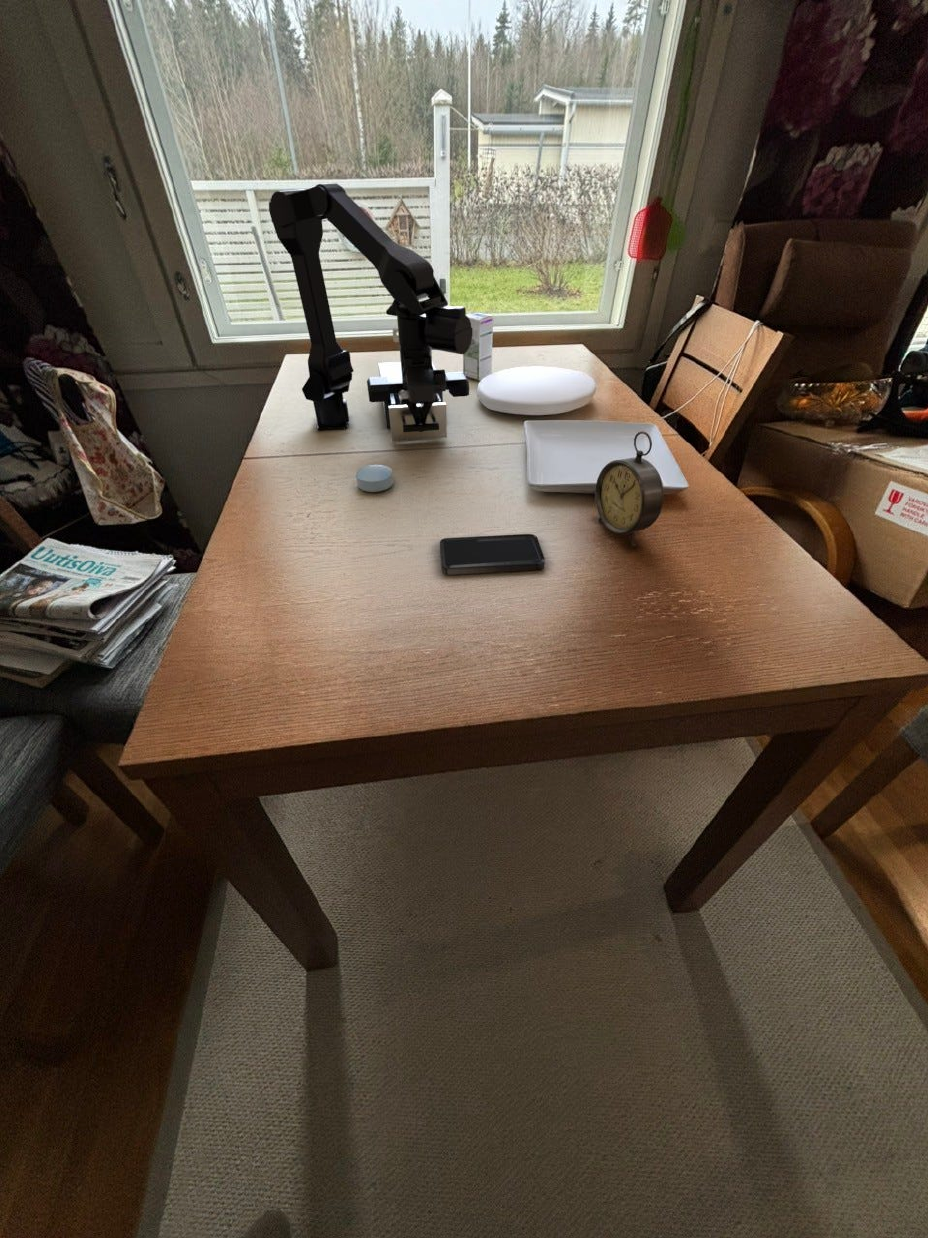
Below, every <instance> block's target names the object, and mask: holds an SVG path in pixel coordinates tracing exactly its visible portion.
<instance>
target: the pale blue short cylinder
mask: <svg viewBox="0 0 928 1238" xmlns="http://www.w3.org/2000/svg"><path fill="white" fill-rule="evenodd" d="M355 479H356V485H357V487H358V488H359V489H360V490H361V491H364V492H368V493H369V492H371V493H379V492H382V491H385V490H387V489H389V488H390V487H392V485H393V484H394V479H393V471H392V469H391V468H390V467H388V466H386V465H382V464H370V465H364V466H362V467H361V468H359V469H358V470H357V471H356V472H355Z"/></svg>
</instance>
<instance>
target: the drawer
mask: <svg viewBox="0 0 928 1238" xmlns="http://www.w3.org/2000/svg"><path fill="white" fill-rule="evenodd" d="M438 397H439V395H438ZM389 405H390V406H388V407H389V416H390V426H391V428H390V435H391V442H392V443H393V442H406V441H407V442H408V441H418V440H420V441H421V440H432V439H435V440H436V439H445V438H448V425H447V424H448V423H447V421H448V419H447V417H448V416H447V403H446V402H444V401H443V402H442V403H441V400H440V397H439V401H438V402H435V403H433V405H432V406H431V408H430V410H429V413H428V416H427V420H426V423H422V424H416V423H415V421H414V418H413V415H412V413H411V411H410V410H409V408H408V406H407V405H406V404H401V403H400V399H399V395H398V393H392V394H390V398H389ZM417 409H418V414H419V420H420V402H418V403H417ZM419 431H423V432H419Z"/></svg>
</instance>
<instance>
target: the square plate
mask: <svg viewBox="0 0 928 1238" xmlns="http://www.w3.org/2000/svg"><path fill="white" fill-rule="evenodd" d="M640 431H644V432H646V433H648V434H649V436H650V437H651V440H652V447H651V450H650V452H649V453H648V454H647V455H645V456H642V459H645V460H647V461H648V462H650V463H651V464H652V465H653V466H654V467H655V468H656V470H657V471H658V473H659V475H660V477H661V480H662V483H663V489H664V496H665V495H666V496H667V495H674V494H678V493H680V492H683V491H686V490H687V489H689V488H690V485H689V482H688V481H687V479H686V477H685V475H684V474H683V471H682V470H681V467H680V466H679V464H678V462H677V460H676V459H675V457H674V455H673V453H672V452H671V450H670V448H669V446H668V444H667V442H666V440H665V438H664V436H663V435H662V433H661V431H660V429H659V428H658V426H657V425H656V424H655V423H652V422H635V421H617V420H615V421H614V420H581V419H580V420H579V419H578V420H575V419H574V420H573V419H571V420H569V419H568V420H567V419H566V420H564V419H562V420H561V419H557V420H555V419H554V420H552V419H551V420H550V419H549V420H525V421H524V422H523V432H524V439H525V447H526V481H527V485H528V486H529V487H530V488H531V489H532V490H535V491H539V492H544V493H545V492H547V493H568V494H595V490H596V483H597V479H598V477H599V475H600V472H601V471H602V469H603V468H604V467H605V466H606V465H607V464H608V463H610V462H612V461H614V460H622V459H628V458H635V457H636V456H637V455H636V453H637V452H636V450H635V446H634V438H635V436H636V434H637V433H638V432H640ZM636 447H637V450H638V451H640V450H641V451H643V454H645V453H647V452H648V450H649V447H650V443H649V439H648V437H647V436H646V435H645V434H639V435H638V437H637V439H636Z"/></svg>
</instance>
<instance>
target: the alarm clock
mask: <svg viewBox="0 0 928 1238" xmlns="http://www.w3.org/2000/svg"><path fill="white" fill-rule="evenodd" d="M639 434H645V435H646V436H647V437H648V439H649V443H650V447H649V450H648V452H647V453H645V454H643V451H641V450H640V451H638V450H637V447H636V439H637V437H638V435H639ZM634 446H635V450H636V452H637V453H636V455H637V456H636V457H635V458H628V459H622V460H614V461H612V462H610V463H608V464H607V465H606V466H605V467H604V468H603V469H602V471H601V472H600V475H599V477H598V479H597V483H596V490H595V493H594V496H595V497H594V499H595V500H594V501H595V506H596V510H597V513H598V516H599V517H598V518H597V519H598V521H599V522H602V523H603V525H604V526H605V527H606V528H607V529H608V530H609V531H610V532H612V533H614V534H617V535H629V540H630V543H631V545H630V546H631V548H633V549H634V548H635V547H636V545H637V544H636V543H635V539H636V537H635V533H636V532H639V531H640V532H641V531H644V530H646V529H648V528H650V527H651V526H653V524H654V523H655V522H656V521H657V520H658V519H659V517H660V515H661V512H662V510H663V505H664V500H665V495H664V489H663V483H662V480H661V477H660V475H659V473H658V471H657V470H656V468H655V467H654V466H653V465H652V464H651V463H650V462H648V461H647V460H645V459H642V456H645V455H647V454H648V453H649V452H650V450H651V447H652V440H651V437H650V436H649V434H648V433H646V432H644V431H640V432H638V433H637V434H636V436H635V438H634Z"/></svg>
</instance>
